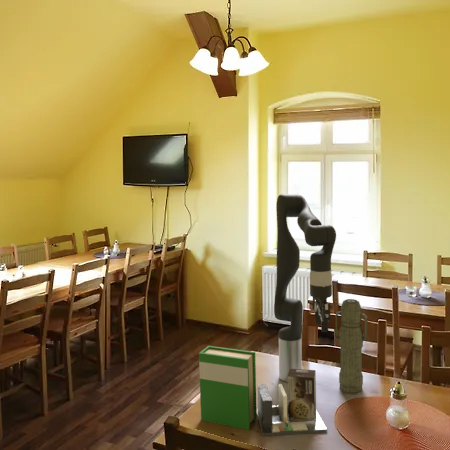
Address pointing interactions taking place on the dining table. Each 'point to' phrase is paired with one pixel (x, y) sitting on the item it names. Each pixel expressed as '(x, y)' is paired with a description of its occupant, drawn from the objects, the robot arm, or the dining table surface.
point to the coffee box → (301, 394)
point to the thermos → (351, 346)
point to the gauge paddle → (282, 403)
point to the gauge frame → (273, 422)
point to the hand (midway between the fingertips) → (321, 327)
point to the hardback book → (228, 386)
